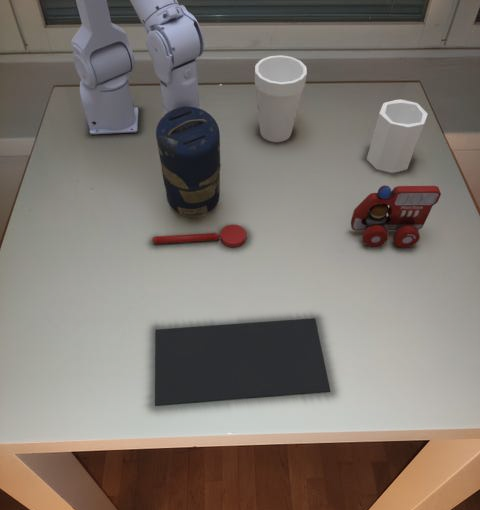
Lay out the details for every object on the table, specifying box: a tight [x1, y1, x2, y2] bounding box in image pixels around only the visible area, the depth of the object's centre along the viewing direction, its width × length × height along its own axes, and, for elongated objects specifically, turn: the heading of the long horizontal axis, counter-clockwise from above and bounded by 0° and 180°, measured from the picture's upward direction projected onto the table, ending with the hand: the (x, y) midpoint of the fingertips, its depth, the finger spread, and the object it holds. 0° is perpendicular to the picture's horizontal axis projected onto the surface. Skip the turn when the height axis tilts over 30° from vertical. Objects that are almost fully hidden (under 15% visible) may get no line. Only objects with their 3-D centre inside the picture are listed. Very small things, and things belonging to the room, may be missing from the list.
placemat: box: [154, 317, 331, 407], centre depth 68 cm, size 24×12×1 cm, turn 95°
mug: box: [366, 98, 429, 174], centre depth 89 cm, size 12×9×10 cm
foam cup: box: [254, 54, 308, 143], centre depth 91 cm, size 10×9×13 cm
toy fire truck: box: [350, 185, 442, 249], centre depth 77 cm, size 7×12×10 cm, turn 88°
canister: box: [155, 107, 222, 218], centre depth 76 cm, size 10×10×18 cm
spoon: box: [151, 224, 247, 248], centre depth 80 cm, size 16×4×1 cm, turn 95°
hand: (188, 172), depth 86 cm, fingers closed, pressing on canister
